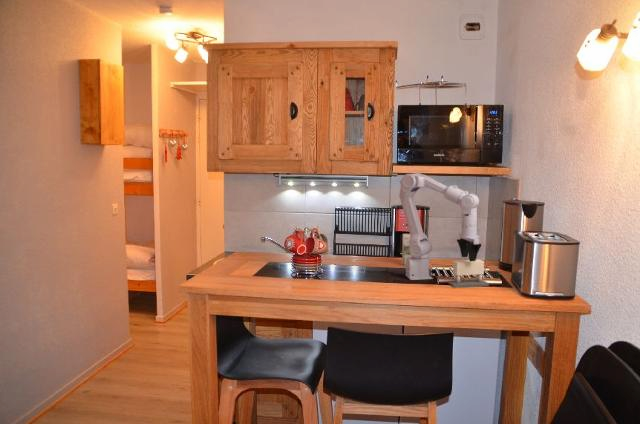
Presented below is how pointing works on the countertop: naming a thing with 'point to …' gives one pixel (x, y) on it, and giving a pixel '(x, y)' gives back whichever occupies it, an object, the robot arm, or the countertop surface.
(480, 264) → the beige rectangular block
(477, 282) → the peg stand
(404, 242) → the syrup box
